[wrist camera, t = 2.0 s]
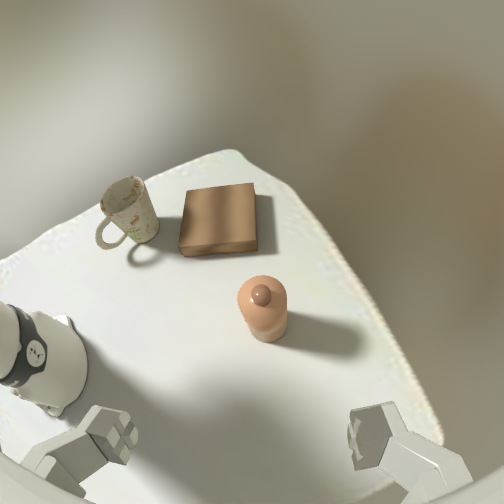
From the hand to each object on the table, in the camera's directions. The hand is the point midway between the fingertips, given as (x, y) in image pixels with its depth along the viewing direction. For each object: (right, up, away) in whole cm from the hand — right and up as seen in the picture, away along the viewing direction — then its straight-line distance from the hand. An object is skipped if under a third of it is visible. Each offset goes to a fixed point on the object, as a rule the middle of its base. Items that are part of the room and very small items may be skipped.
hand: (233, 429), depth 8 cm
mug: (-20, +9, +41) cm, 46 cm away
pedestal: (-5, +11, +40) cm, 41 cm away
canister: (+3, -4, +30) cm, 30 cm away
